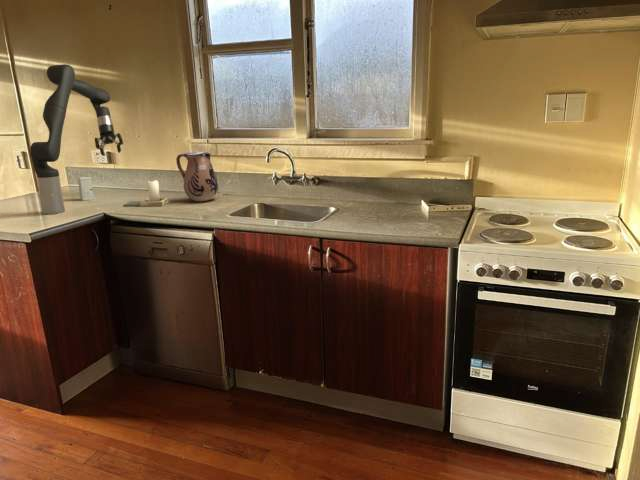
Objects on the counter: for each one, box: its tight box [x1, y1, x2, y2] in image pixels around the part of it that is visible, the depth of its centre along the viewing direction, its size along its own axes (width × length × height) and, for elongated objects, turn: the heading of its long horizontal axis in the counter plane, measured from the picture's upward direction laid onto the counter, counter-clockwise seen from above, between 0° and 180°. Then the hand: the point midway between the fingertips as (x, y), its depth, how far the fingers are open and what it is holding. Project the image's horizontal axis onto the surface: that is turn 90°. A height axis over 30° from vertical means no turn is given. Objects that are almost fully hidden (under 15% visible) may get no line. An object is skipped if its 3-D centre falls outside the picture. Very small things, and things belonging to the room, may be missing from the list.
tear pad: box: [122, 200, 143, 208], centre depth 244 cm, size 10×9×1 cm
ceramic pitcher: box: [175, 151, 219, 202], centre depth 249 cm, size 18×21×25 cm
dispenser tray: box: [139, 197, 170, 208], centre depth 243 cm, size 11×11×2 cm
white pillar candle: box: [146, 179, 161, 202], centre depth 242 cm, size 5×5×12 cm
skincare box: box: [77, 176, 95, 201], centre depth 258 cm, size 6×4×12 cm
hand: (111, 153), depth 261 cm, fingers open, 8 cm apart
